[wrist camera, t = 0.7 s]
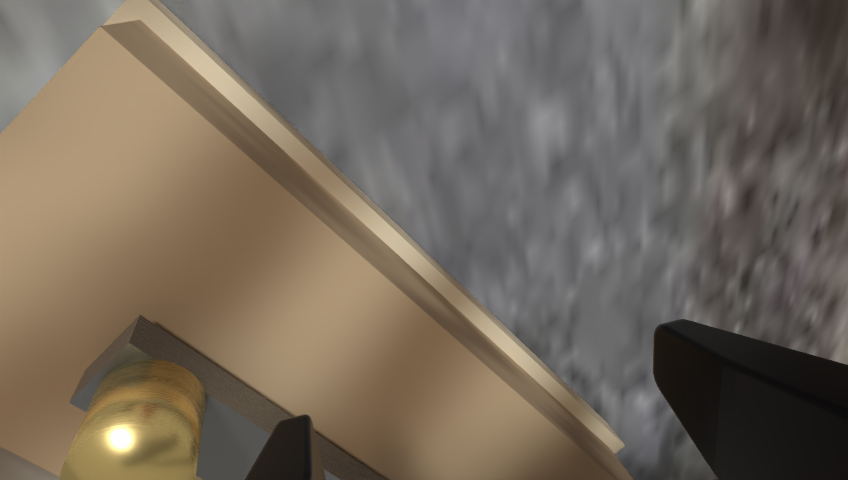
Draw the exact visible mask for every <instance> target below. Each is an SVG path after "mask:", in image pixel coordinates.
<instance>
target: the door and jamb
mask: <svg viewBox="0 0 848 480" xmlns="http://www.w3.org/2000/svg"><path fill="white" fill-rule="evenodd" d="M139 315H142V316H143V317H145V318H146V319H148V320H149V321H151V322H152V323H154V324H155V325H157V326H158V327H160V328H161V329H163V330H164V331H165V332H167V333H168V334H170V335H171V336H173V337H174V338H176V339H177V340H179V341H180V342H182V343H183V344H185V345H186V346H188V347H189V348H191V349H192V350H194V351H195V352H197V353H198V354H200V355H201V356H202V357H204V358H205V359H207V360H208V361H210V362H211V363H213V364H214V365H216V366H217V367H219V368H220V369H222V370H223V371H225V372H226V373H228V374H229V375H231V376H232V377H234V378H235V379H237V380H238V381H239V382H241V383H242V384H244V385H245V386H247V387H248V388H250V389H251V390H253V391H254V392H256V393H257V394H259V395H260V396H262V397H263V398H265V399H266V400H268V401H269V402H271V403H272V404H274V405H275V406H276V407H278V408H279V409H281V410H282V411H284V412H285V413H287V414H288V415H290V416H291V417H295V416H299V415H303V414H307V415H309V416H310V417H311V419H312V423H313V426H314V430H315V433H316V434H318V435H319V436H321V437H322V438H324V439H325V440H327V441H328V442H330V443H331V444H333V445H334V446H336V447H337V448H339V449H340V450H342V451H343V452H345V453H346V454H348V455H349V456H350V457H352V458H353V459H355V460H356V461H358V462H359V463H361V464H362V465H364V466H365V467H367V468H368V469H370V470H371V471H373V472H374V473H376V474H377V475H379V476H380V477H382V478H383V479H384V480H633V478H632V477H631V476H630V474H629V473H628V472H627V470H626V469H625V468H624V466H623V465H622V464H621V462H620V461H619V460H618V458H617V457H616V456H615V454H616V453H617V452H618V451H619V450H620V449H622V448H623V447H624V446H625V445H624V443H623V442H622V441H621V440H620V438H619V437H618V436H617V435H616V433H615V432H614V431H613V430H612V428H611V427H610V426H609V425H608V423H607V422H606V421H605V420H604V419H603V418H602V417H601V416H600V415H598V414H597V413H596V412H595V411H594V410H593V409H592V408H591V407H590V406H589V405H588V404H587V403H586V402H585V401H584V400H583V399H582V398H580V397H579V396H578V395H577V394H576V393H575V392H574V391H573V390H572V389H571V388H570V387H569V386H568V385H567V384H566V383H565V382H563V381H562V380H561V379H560V378H559V377H558V376H557V375H556V374H555V373H554V372H553V371H552V370H551V369H550V368H549V367H548V366H546V365H545V364H544V363H543V362H542V361H541V360H540V359H539V358H538V357H537V356H536V355H535V354H534V353H533V352H532V351H531V350H530V349H528V348H527V347H526V346H525V345H524V344H523V343H522V342H521V341H520V340H519V339H518V338H517V337H516V336H515V335H514V334H513V333H511V332H510V331H509V330H508V329H507V328H506V327H505V326H504V325H503V324H502V323H501V322H500V321H499V320H498V319H497V318H496V317H494V316H493V315H492V314H491V313H490V312H489V311H488V310H487V309H486V308H485V307H484V306H483V305H482V304H481V303H480V302H479V301H477V300H476V299H475V298H474V297H473V296H472V295H471V294H470V293H469V292H468V291H467V290H466V289H465V288H464V287H463V286H462V285H461V284H459V283H458V282H457V281H456V280H455V279H454V278H453V277H452V276H451V275H450V274H449V273H448V272H447V271H446V270H445V269H444V268H442V267H441V266H440V265H439V264H438V263H437V262H436V261H435V260H434V259H433V258H432V257H431V256H430V255H429V254H428V253H427V252H425V251H424V250H423V249H422V248H421V247H420V246H419V245H418V244H417V243H416V242H415V241H414V240H413V239H412V238H411V237H410V236H409V235H407V234H406V233H405V232H404V231H403V230H402V229H401V228H400V227H399V226H398V225H397V224H396V223H395V222H394V221H393V220H392V219H390V218H389V217H388V216H387V215H386V214H385V213H384V212H383V211H382V210H381V209H380V208H379V207H378V206H377V205H376V204H375V203H373V202H372V201H371V200H370V199H369V198H368V197H367V196H366V195H365V194H364V193H363V192H362V191H361V190H360V189H359V188H358V187H356V186H355V185H354V184H353V183H352V182H351V181H350V180H349V179H348V178H347V177H346V176H345V175H344V174H343V173H342V172H341V171H340V170H338V169H337V168H336V167H335V166H334V165H333V164H332V163H331V162H330V161H329V160H328V159H327V158H326V157H325V156H324V155H323V154H321V153H320V152H319V151H318V150H317V149H316V148H315V147H314V146H313V145H312V144H311V143H310V142H309V141H308V140H307V139H306V138H304V137H303V136H302V135H301V134H300V133H299V132H298V131H297V130H296V129H295V128H294V127H293V126H292V125H291V124H290V123H289V122H288V121H286V120H285V119H284V118H283V117H282V116H281V115H280V114H279V113H278V112H277V111H276V110H275V109H274V108H273V107H272V106H271V105H269V104H268V103H267V102H266V101H265V100H264V99H263V98H262V97H261V96H260V95H259V94H258V93H257V92H256V91H255V90H254V89H252V88H251V87H250V86H249V85H248V84H247V83H246V82H245V81H244V80H243V79H242V78H241V77H240V76H239V75H238V74H237V73H235V72H234V71H233V70H232V69H231V68H230V67H229V66H228V65H227V64H226V63H225V62H224V61H223V60H222V59H221V58H220V57H219V56H217V55H216V54H215V53H214V52H213V51H212V50H211V49H210V48H209V47H208V46H207V45H206V44H205V43H204V42H203V41H202V40H200V39H199V38H198V37H197V36H196V35H195V34H194V33H193V32H192V31H191V30H190V29H189V28H188V27H187V26H186V25H185V24H183V23H182V22H181V21H180V20H179V19H178V18H177V17H176V16H175V15H174V14H173V13H172V12H171V11H170V10H169V9H168V8H166V7H165V6H164V5H163V4H162V3H161V2H160V1H159V0H126V1H125V2H124V3H123V4H122V5H121V6H120V8H119V9H118V10H117V11H116V12H115V13H114V14H113V15H112V16H111V17H110V18H109V19H108V21H107V22H106V23H105V24H104V25H103V26H100V27H99V28H98V29H97V30H96V31H95V32H94V33H93V34H92V35H91V36H90V37H89V39H88V40H87V41H86V42H85V43H84V44H83V45H82V46H81V47H80V48H79V49H78V50H77V52H76V53H75V54H74V55H73V56H72V57H71V58H70V59H69V60H68V61H67V62H66V63H65V65H64V66H63V67H62V68H61V69H60V70H59V71H58V72H57V73H56V74H55V75H54V76H53V78H52V79H51V80H50V81H49V82H48V83H47V84H46V85H45V86H44V87H43V88H42V89H41V91H40V92H39V93H38V94H37V95H36V96H35V97H34V98H33V99H32V100H31V101H30V102H29V104H28V105H27V106H26V107H25V108H24V109H23V110H22V111H21V112H20V113H19V114H18V115H17V117H16V118H15V119H14V120H13V121H12V122H11V123H10V124H9V125H8V126H7V127H6V128H5V130H4V131H3V132H2V133H1V134H0V480H60V473H61V469H62V466H63V464H64V462H65V459H66V457H67V455H68V453H69V450H70V448H71V446H72V444H73V441H74V439H75V437H76V434H77V432H78V430H79V428H80V425H81V423H82V421H83V419H84V416H85V414H86V412H84V411H83V410H81V409H79V408H77V407H76V406H74V405H72V404H70V403H69V402H70V400H71V398H72V396H73V393H74V391H75V389H76V387H77V385H78V383H79V381H80V379H81V377H82V375H83V373H84V371H85V370H86V369H87V368H88V367H89V366H90V365H91V364H92V363H93V362H94V361H95V360H96V358H97V357H98V356H99V355H100V354H101V353H102V352H103V351H104V350H105V349H106V348H107V347H108V346H109V345H110V344H111V343H112V342H113V341H114V340H115V339H116V338H117V337H118V336H119V335H120V334H121V333H122V332H123V331H124V330H125V329H126V328H127V327H128V326H129V325H130V324H131V323H132V322H133V321H134V320H135V319H136V318H137V317H138V316H139ZM195 480H203V479H202V478H200V477H198V476H196V477H195Z"/></svg>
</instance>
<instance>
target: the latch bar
mask: <svg viewBox="0 0 848 480" xmlns="http://www.w3.org/2000/svg"><path fill="white" fill-rule="evenodd" d="M69 403H70V404H72V405H74V406H76V407H77V408H79V409H81V410H83V411H84V412H86V414H85V416H84V419H83V421H82V423H81V425H80V428H79V430H78V432H77V434H76V437H75V439H74V441H73V444H72V446H71V448H70V450H69V453H68V455H67V457H66V459H65V462H64V464H63V466H62V469H61V473H60V480H195V477H196V476H198V477H200V478H202V479H203V480H245V478H246V476H247V475H248V473H249V471H250V470H251V468H252V466H253V464H254V463H255V461H256V459H257V458H258V456H259V454H260V452H261V451H262V449H263V447H264V446H265V444H266V442H267V441H268V439H269V437H270V435H271V434H272V432H273V430H274V429H275V427H276V425H277V424H278V423H279V422H280V421H281V420H284V419H287V418H291V416H290V415H288V414H287V413H285V412H284V411H282V410H281V409H279V408H278V407H276V406H275V405H274V404H272V403H271V402H269V401H268V400H266V399H265V398H263V397H262V396H260V395H259V394H257V393H256V392H254V391H253V390H251V389H250V388H248V387H247V386H245V385H244V384H242V383H241V382H239V381H238V380H237V379H235V378H234V377H232V376H231V375H229V374H228V373H226V372H225V371H223V370H222V369H220V368H219V367H217V366H216V365H214V364H213V363H211V362H210V361H208V360H207V359H205V358H204V357H202V356H201V355H200V354H198V353H197V352H195V351H194V350H192V349H191V348H189V347H188V346H186V345H185V344H183V343H182V342H180V341H179V340H177V339H176V338H174V337H173V336H171V335H170V334H168V333H167V332H165V331H164V330H163V329H161V328H160V327H158V326H157V325H155V324H154V323H152V322H151V321H149V320H148V319H146V318H145V317H143V316H142V315H139V316H138V317H137V318H136V319H135V320H134V321H133V322H132V323H131V324H130V325H129V326H128V327H127V328H126V329H125V330H124V331H123V332H122V333H121V334H120V335H119V336H118V337H117V338H116V339H115V340H114V341H113V342H112V343H111V344H110V345H109V346H108V347H107V348H106V349H105V350H104V351H103V352H102V353H101V354H100V355H99V356H98V357H97V358H96V360H95V361H94V362H93V363H92V364H91V365H90V366H89V367H88V368H87V369H86V370H85V371H84V373H83V375H82V377H81V379H80V381H79V383H78V385H77V387H76V389H75V391H74V393H73V396H72V398H71V400H70V402H69ZM315 434H316V433H315ZM316 438H317V442H318V446H319V450H320V454H321V458H322V462H323V467H324V472H325V478H326V480H384V479H383V478H382V477H380V476H379V475H377V474H376V473H374V472H373V471H371V470H370V469H368V468H367V467H365V466H364V465H362V464H361V463H359V462H358V461H356V460H355V459H353V458H352V457H350V456H349V455H348V454H346V453H345V452H343V451H342V450H340V449H339V448H337V447H336V446H334V445H333V444H331V443H330V442H328V441H327V440H325V439H324V438H322V437H321V436H319V435H318V434H316Z"/></svg>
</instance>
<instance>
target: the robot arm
mask: <svg viewBox="0 0 848 480" xmlns="http://www.w3.org/2000/svg"><path fill="white" fill-rule="evenodd" d="M653 374H654V379H655V382H656V384H657V386H658V388H659V390H660V391H661V393H662V394H663V396H664V397H665V399H666V400H667V402H668V403H669V405H670V407H671V408H672V410H673V411H674V413H675V414H676V416H677V417H678V419H679V420H680V422H681V423H682V425H683V427H684V428H685V430H686V431H687V433H688V434H689V436H690V437H691V439H692V440H693V442H694V443H695V445H696V447H697V448H698V450H699V451H700V453H701V454H702V456H703V457H704V459H705V460H706V462H707V463H708V465H709V466H710V467H711V469H712V470H713V472H714V473H715V474H716V476H717V477H718V478H719V480H848V365H846V364H842V363H839V362H835V361H832V360H828V359H824V358H821V357H817V356H814V355H810V354H807V353H803V352H799V351H796V350H792V349H789V348H785V347H782V346H778V345H775V344H771V343H767V342H764V341H760V340H757V339H753V338H750V337H746V336H742V335H739V334H735V333H732V332H728V331H725V330H721V329H717V328H714V327H710V326H707V325H703V324H700V323H696V322H693V321H689V320H685V319H680V320H675V321H672V322H668V323H664V324H660V325H659V326H658V327H657V328H656V329H655V332H654V353H653ZM245 480H326V478H325V472H324V467H323V462H322V458H321V454H320V450H319V446H318V442H317V438H316V434H315V430H314V426H313V423H312V419H311V417H310V416H309V415H307V414H303V415H299V416H295V417H291V418H287V419H284V420H281V421H280V422H279V423H278V424H277V425H276V427H275V429H274V430H273V432H272V434H271V435H270V437H269V439H268V441H267V442H266V444H265V446H264V447H263V449H262V451H261V452H260V454H259V456H258V458H257V459H256V461H255V463H254V464H253V466H252V468H251V470H250V471H249V473H248V475H247V476H246V478H245Z"/></svg>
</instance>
